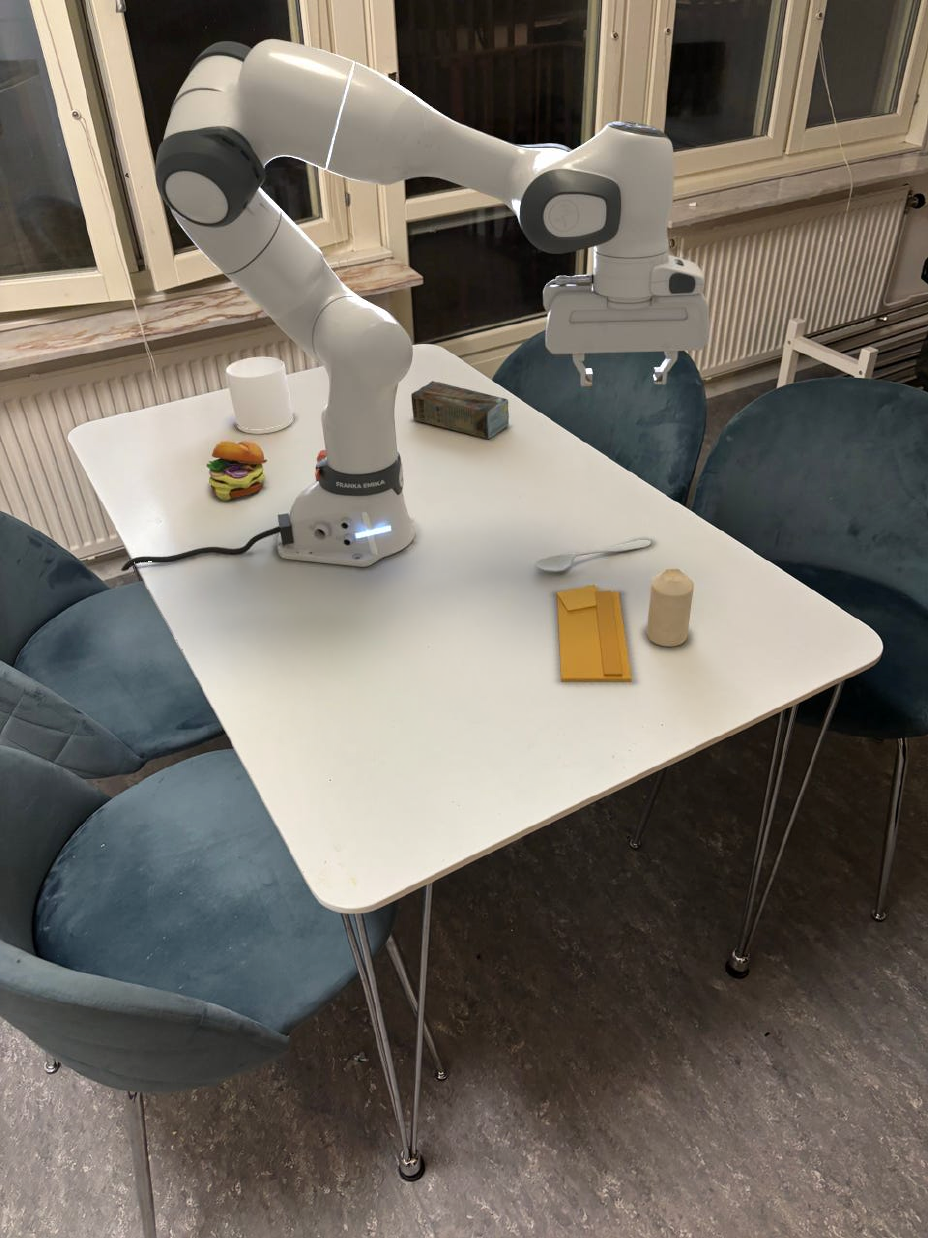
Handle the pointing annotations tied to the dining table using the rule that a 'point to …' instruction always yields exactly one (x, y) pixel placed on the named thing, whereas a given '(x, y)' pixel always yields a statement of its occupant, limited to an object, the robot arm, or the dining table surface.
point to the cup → (259, 394)
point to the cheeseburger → (236, 469)
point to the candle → (669, 608)
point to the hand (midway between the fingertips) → (622, 383)
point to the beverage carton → (460, 409)
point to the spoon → (566, 560)
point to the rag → (592, 636)
